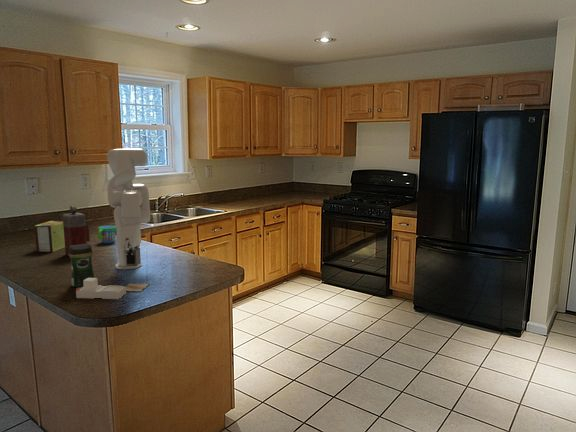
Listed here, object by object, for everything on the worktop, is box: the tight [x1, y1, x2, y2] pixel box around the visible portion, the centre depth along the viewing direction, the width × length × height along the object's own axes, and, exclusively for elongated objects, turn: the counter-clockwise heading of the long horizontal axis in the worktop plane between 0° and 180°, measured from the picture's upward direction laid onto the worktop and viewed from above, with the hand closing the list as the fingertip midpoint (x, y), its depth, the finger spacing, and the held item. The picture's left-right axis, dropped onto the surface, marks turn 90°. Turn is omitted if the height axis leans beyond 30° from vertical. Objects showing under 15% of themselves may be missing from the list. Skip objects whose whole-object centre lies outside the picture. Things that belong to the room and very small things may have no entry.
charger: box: [126, 247, 142, 266], centre depth 191 cm, size 4×4×7 cm
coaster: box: [124, 283, 149, 292], centre depth 193 cm, size 9×9×1 cm
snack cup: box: [97, 225, 117, 244], centre depth 278 cm, size 16×10×10 cm
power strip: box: [75, 277, 127, 300], centre depth 183 cm, size 18×7×7 cm, turn 86°
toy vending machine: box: [62, 205, 91, 257], centre depth 247 cm, size 9×11×28 cm
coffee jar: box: [68, 243, 96, 288], centre depth 196 cm, size 10×8×19 cm
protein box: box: [33, 220, 65, 253], centre depth 261 cm, size 10×15×16 cm
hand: (133, 261), depth 191 cm, fingers closed on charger, 4 cm apart
